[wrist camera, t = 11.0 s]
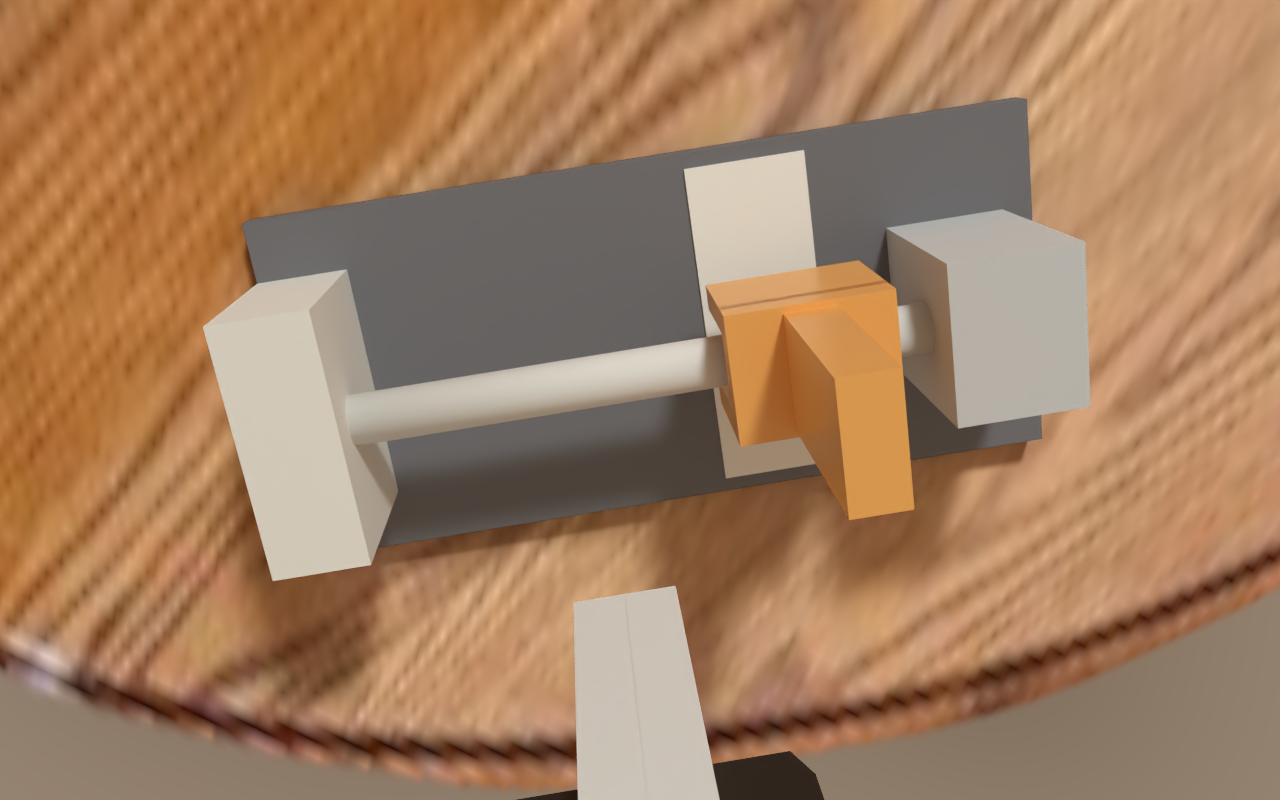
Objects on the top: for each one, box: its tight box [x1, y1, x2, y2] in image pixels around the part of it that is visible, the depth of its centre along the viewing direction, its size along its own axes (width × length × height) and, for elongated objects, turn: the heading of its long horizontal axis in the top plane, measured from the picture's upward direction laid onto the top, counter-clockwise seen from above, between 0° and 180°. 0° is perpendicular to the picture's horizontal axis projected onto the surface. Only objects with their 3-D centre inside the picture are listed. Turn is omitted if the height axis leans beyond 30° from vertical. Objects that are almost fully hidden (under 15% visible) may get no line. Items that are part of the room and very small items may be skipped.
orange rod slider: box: [705, 260, 915, 520], centre depth 32 cm, size 5×4×11 cm
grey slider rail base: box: [203, 97, 1090, 581], centre depth 37 cm, size 26×12×8 cm, turn 99°
